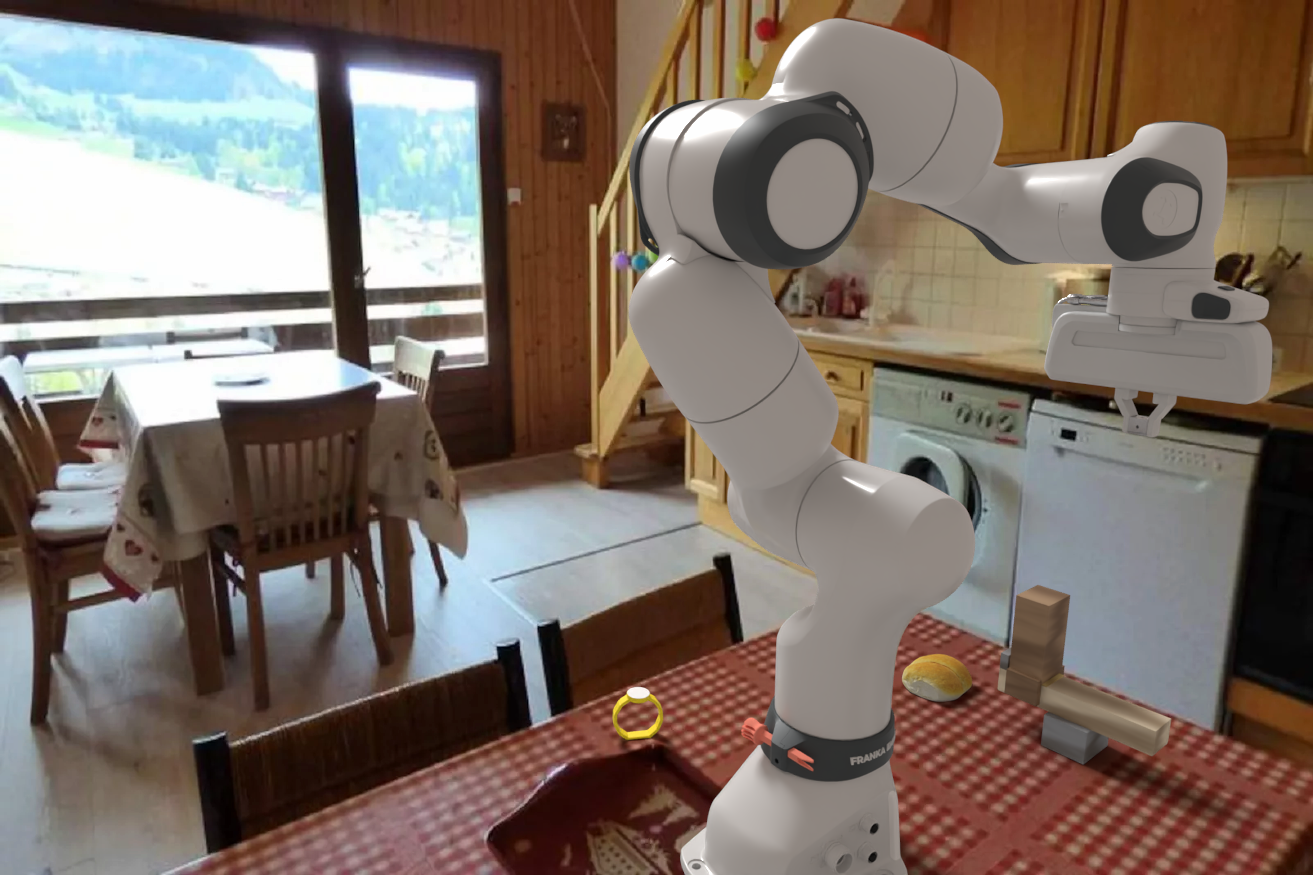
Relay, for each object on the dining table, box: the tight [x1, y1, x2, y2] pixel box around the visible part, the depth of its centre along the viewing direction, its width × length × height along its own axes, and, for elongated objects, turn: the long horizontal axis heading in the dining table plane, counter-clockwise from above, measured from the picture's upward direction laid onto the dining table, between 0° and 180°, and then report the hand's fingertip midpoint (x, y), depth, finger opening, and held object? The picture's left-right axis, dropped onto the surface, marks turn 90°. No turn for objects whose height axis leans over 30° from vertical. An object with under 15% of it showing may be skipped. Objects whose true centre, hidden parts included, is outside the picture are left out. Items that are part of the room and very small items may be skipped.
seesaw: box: [997, 647, 1172, 765], centre depth 100 cm, size 6×18×9 cm, turn 38°
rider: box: [1003, 584, 1071, 707], centre depth 103 cm, size 6×4×13 cm, turn 128°
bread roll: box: [901, 653, 973, 703], centre depth 115 cm, size 8×9×4 cm
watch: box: [612, 686, 664, 741], centre depth 103 cm, size 6×3×6 cm, turn 100°
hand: (1140, 434), depth 87 cm, fingers closed
